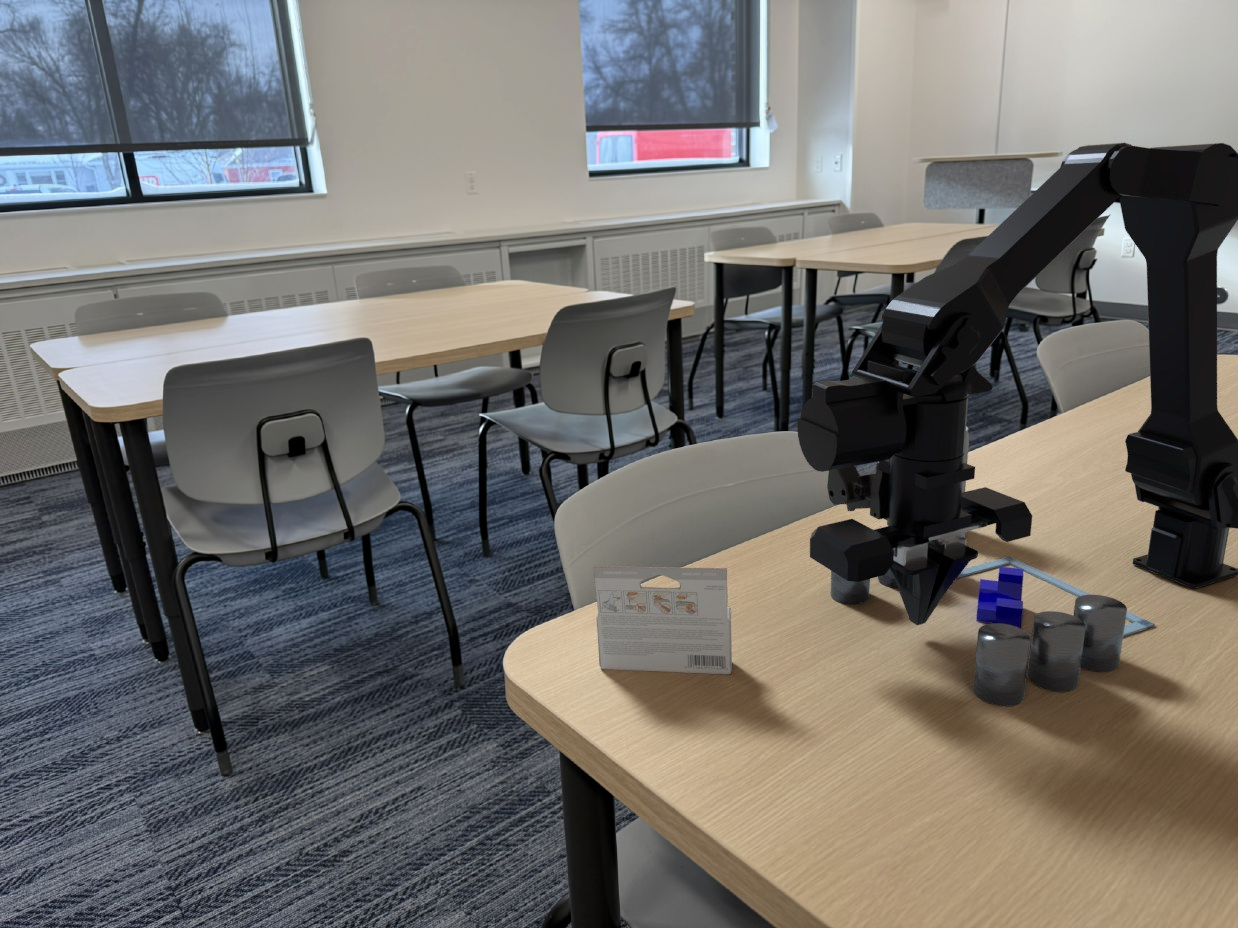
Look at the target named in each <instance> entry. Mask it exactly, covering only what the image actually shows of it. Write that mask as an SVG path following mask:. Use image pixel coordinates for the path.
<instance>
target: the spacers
mask: <svg viewBox="0 0 1238 928" xmlns="http://www.w3.org/2000/svg"><path fill="white" fill-rule="evenodd" d="M877 579H878V582H879V583H880V584H882V585H884V586H886V587H889V588H893V589H894V588H895V589H898V586H897V583H896V581H895V579H894V576H893V574H892V572H891V571H890V569H889V570H888V571H887V573H886V574H885V575H883V576H879V577H877ZM870 586H871V579H868V580H864V581H860V582H853V581H847V580H845V579H844V578H842V577H841V576H839V575H837V574H836V573H834V572H833V571H831V570H830V597H831V598H832V600H835V602H838V603H840V604H841V603H842V604H846V605H858V604H859V605H860V604H863V603H866V602H867V601H868V600H869V599H870V593H871V591H870V590H871V587H870ZM1074 601H1075V602H1074V606H1073V607H1074V609H1073V614H1070V613H1066V612H1062V611H1055V610H1054V611H1053V610H1050V611H1041V612H1038V613H1036V614H1034V615H1033V618H1032V627H1031V636H1030V634H1029V633H1028V632H1027V631H1026V630H1024V629H1022V628H1021V629H1020V628H1018V627H1015V626H1012V625H1008V624H1001V623H987V624H983V625H982V626H981V627H979V628H978V630H977V640H976V641H977V642H976V643H977V644H976V653H975V654H976V655H975V665H974V674H973V675H974V676H973V677H974V678H973V693H974V694H975V695H976V697H977V698H979V699H980V700H982V701H984V702H986V703H988V704H990V705H995V706H1000V707H1012V706H1013V707H1014V706H1017V705H1020V704H1021V703H1023V701H1024V700H1025V695H1026V685H1027V679H1028V680H1029V681H1030V682H1031V683H1032V684H1033V685H1034V686H1036V687H1037V688H1040V689H1043V690H1046V691H1049V692H1054V693H1055V692H1056V693H1067V692H1072V691H1075V690H1076V689H1077V688H1078V686H1079V684H1080V683H1079V681H1080V675H1081V669H1083V670H1086V671H1089V672H1095V673H1110V672H1114V671H1116V670H1118V669H1119V667H1120V662H1121V656H1122V655H1121V654H1122V648H1123V647H1122V646H1123V640H1124V636H1123V634H1124V627H1125V625H1126V621H1127V619H1126V614H1127V611H1128V607H1127V606H1126V604H1124V602H1122V601H1120V600H1118V599H1116V598H1113V597H1110V596H1107V595H1102V594H1091V595H1083V596H1079V597H1078V596H1077V597H1076V599H1074Z"/></svg>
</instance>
